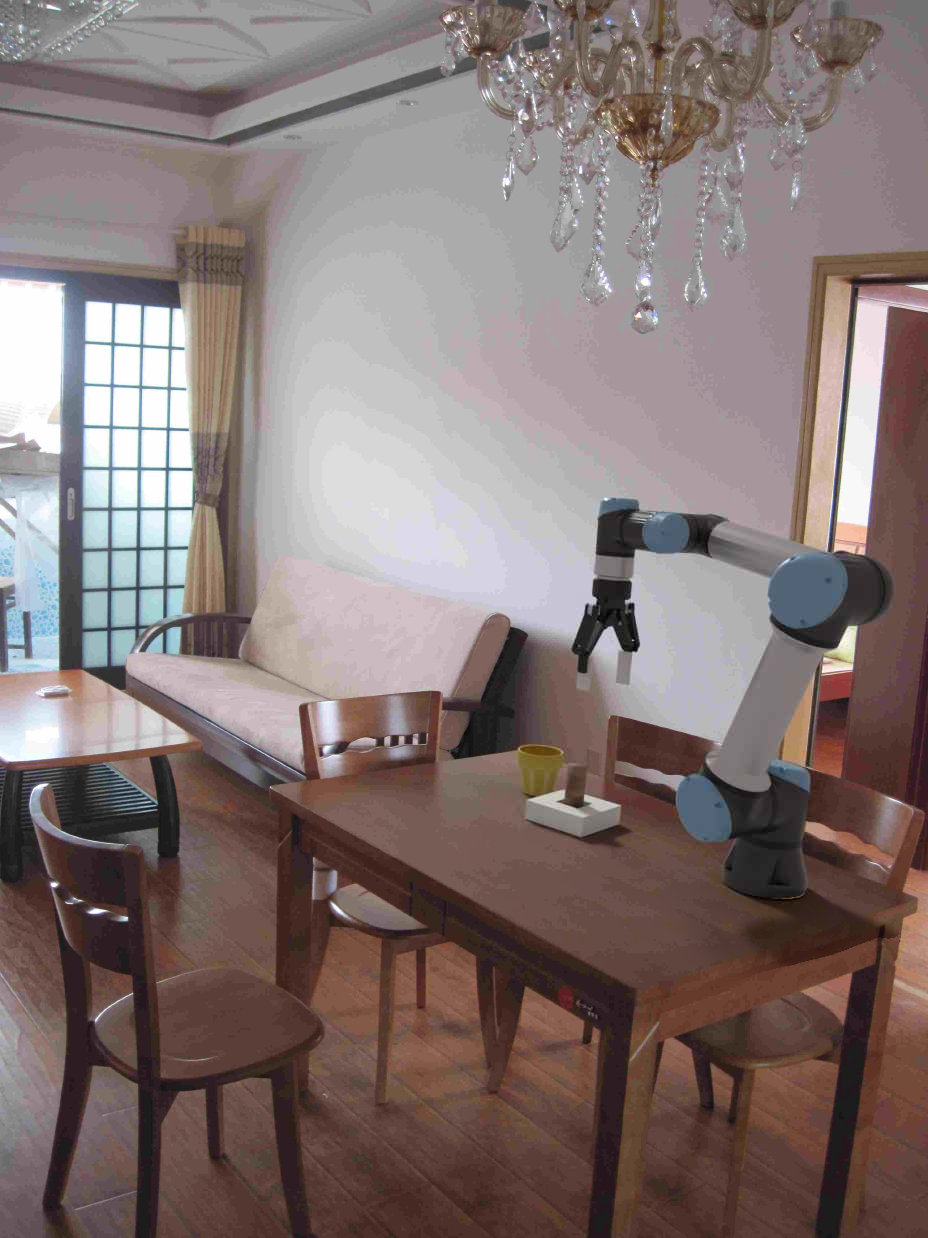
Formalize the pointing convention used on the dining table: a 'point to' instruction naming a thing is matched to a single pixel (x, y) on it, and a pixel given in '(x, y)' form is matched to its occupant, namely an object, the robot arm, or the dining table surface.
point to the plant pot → (539, 768)
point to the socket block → (572, 813)
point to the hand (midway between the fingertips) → (603, 686)
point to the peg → (575, 784)
